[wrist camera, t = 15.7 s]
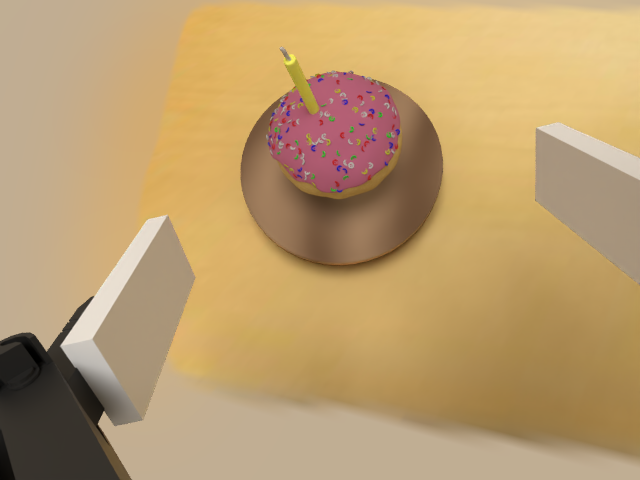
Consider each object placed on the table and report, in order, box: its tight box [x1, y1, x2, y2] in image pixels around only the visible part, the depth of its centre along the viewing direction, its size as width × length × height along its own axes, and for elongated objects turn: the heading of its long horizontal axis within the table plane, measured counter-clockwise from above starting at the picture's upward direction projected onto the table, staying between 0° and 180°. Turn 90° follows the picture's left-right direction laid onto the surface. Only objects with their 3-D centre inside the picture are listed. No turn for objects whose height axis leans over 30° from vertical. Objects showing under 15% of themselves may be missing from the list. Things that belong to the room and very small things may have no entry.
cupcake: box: [266, 47, 402, 199], centre depth 27 cm, size 9×8×12 cm
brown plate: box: [241, 79, 443, 265], centre depth 34 cm, size 15×15×3 cm
